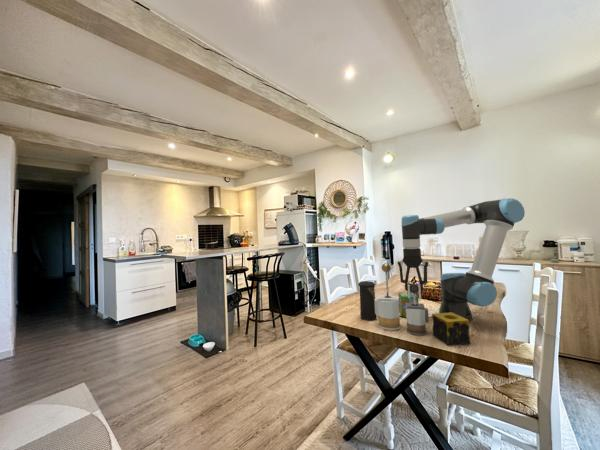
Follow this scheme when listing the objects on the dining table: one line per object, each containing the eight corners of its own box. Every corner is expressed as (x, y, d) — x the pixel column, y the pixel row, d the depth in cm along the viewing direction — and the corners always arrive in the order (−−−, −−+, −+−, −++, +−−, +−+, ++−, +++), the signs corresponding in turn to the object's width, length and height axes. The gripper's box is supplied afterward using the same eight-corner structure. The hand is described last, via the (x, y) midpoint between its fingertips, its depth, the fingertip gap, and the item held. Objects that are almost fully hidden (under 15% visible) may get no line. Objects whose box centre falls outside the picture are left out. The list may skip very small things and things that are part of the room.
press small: (427, 329, 117) (426, 303, 117) (430, 336, 109) (428, 308, 110) (406, 327, 120) (404, 301, 121) (407, 334, 113) (405, 307, 113)
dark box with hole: (432, 335, 110) (430, 313, 111) (453, 333, 111) (452, 311, 111) (447, 346, 100) (446, 321, 100) (471, 344, 101) (469, 319, 101)
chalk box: (398, 312, 143) (397, 286, 143) (415, 312, 141) (414, 286, 141) (401, 317, 134) (400, 290, 134) (419, 318, 132) (418, 290, 132)
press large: (400, 323, 126) (398, 294, 126) (400, 331, 116) (399, 300, 117) (376, 321, 130) (375, 293, 131) (375, 329, 120) (373, 299, 121)
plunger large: (392, 297, 125) (390, 262, 125) (392, 300, 121) (390, 263, 121) (383, 297, 126) (381, 262, 127) (383, 299, 122) (381, 263, 123)
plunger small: (420, 317, 116) (418, 283, 117) (420, 321, 113) (418, 285, 113) (410, 317, 118) (408, 283, 118) (411, 320, 114) (409, 284, 114)
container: (377, 321, 130) (375, 283, 131) (360, 320, 132) (358, 283, 132) (376, 315, 139) (374, 280, 139) (359, 315, 140) (357, 280, 141)
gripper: (430, 247, 116) (433, 296, 116) (392, 247, 122) (395, 294, 122) (433, 248, 109) (436, 301, 109) (392, 249, 115) (395, 299, 115)
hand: (414, 297), depth 115 cm, fingers closed on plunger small, 4 cm apart
